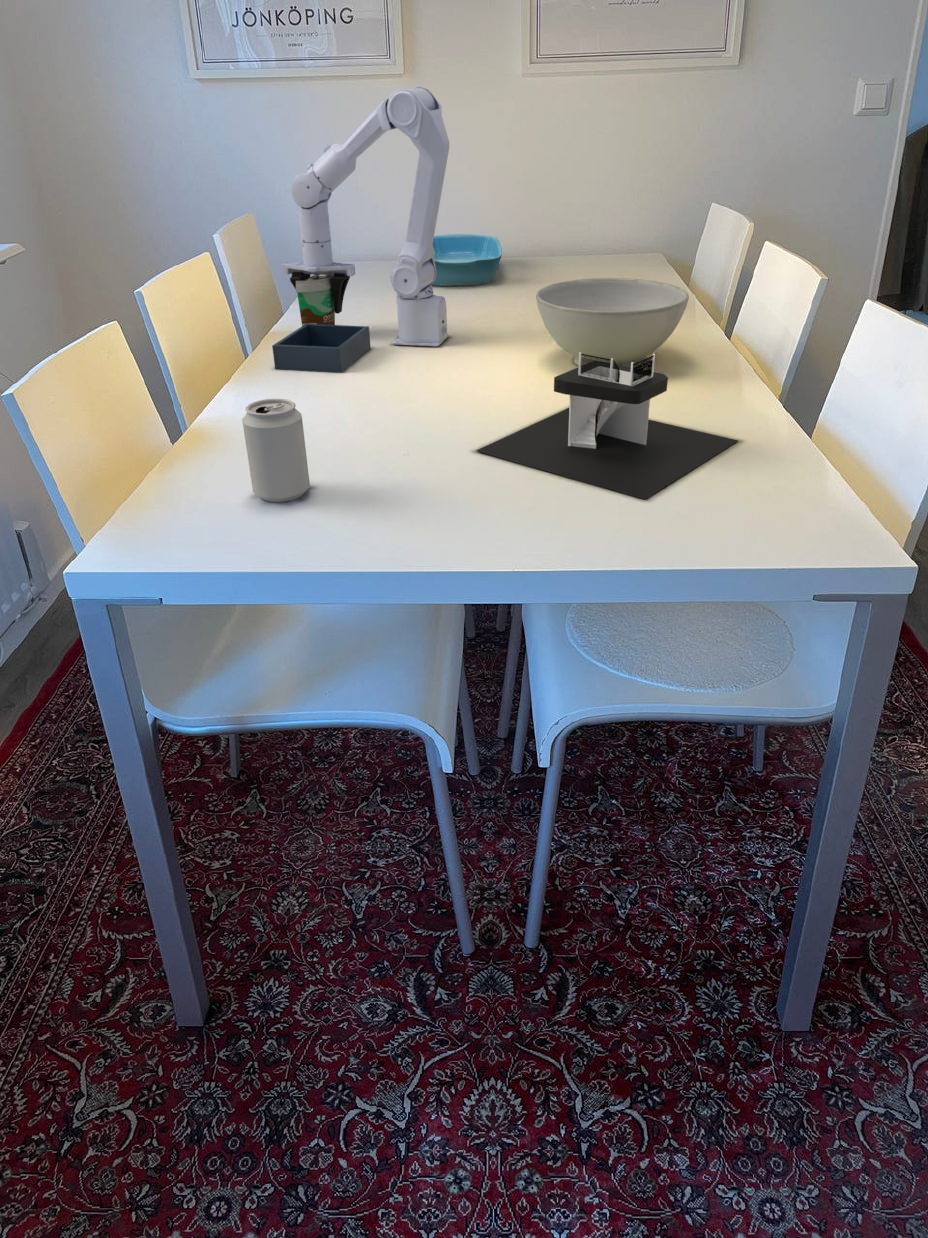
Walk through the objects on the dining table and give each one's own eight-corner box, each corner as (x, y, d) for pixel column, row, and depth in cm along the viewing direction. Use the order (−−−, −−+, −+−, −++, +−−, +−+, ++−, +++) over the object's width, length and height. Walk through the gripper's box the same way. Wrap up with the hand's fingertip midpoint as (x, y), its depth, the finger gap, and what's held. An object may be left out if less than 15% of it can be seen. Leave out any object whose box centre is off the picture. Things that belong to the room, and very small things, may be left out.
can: (256, 483, 127) (243, 396, 120) (312, 480, 127) (302, 393, 121) (250, 506, 120) (236, 415, 114) (309, 503, 121) (298, 412, 114)
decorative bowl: (697, 349, 178) (704, 283, 171) (660, 390, 157) (667, 317, 151) (563, 336, 187) (565, 273, 181) (512, 374, 167) (512, 304, 160)
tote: (370, 348, 183) (368, 326, 181) (341, 372, 170) (339, 348, 168) (308, 345, 186) (305, 323, 184) (274, 368, 173) (271, 345, 171)
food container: (329, 334, 186) (324, 282, 181) (300, 333, 187) (294, 281, 182) (348, 319, 196) (344, 269, 191) (320, 318, 197) (315, 268, 192)
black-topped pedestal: (475, 451, 135) (474, 358, 128) (578, 404, 152) (582, 320, 145) (645, 500, 119) (654, 397, 112) (738, 441, 136) (751, 349, 129)
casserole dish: (504, 289, 226) (504, 257, 222) (411, 291, 226) (410, 260, 223) (498, 259, 258) (498, 232, 254) (417, 261, 258) (416, 234, 254)
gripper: (273, 243, 181) (282, 314, 188) (343, 244, 178) (349, 317, 185) (288, 236, 187) (295, 306, 194) (356, 238, 184) (361, 309, 191)
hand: (323, 311), depth 190 cm, fingers closed on food container, 6 cm apart
